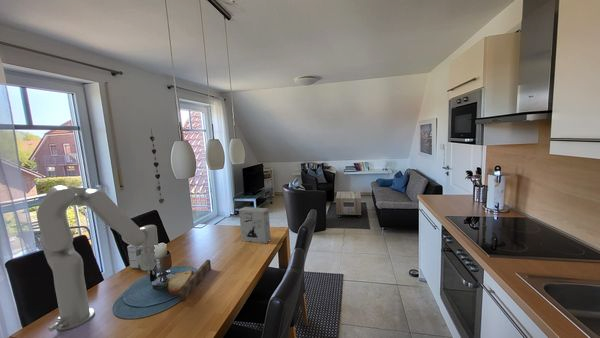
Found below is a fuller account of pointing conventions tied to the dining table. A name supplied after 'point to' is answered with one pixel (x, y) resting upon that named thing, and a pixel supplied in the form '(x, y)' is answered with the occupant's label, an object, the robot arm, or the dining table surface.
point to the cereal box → (255, 224)
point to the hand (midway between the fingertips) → (153, 280)
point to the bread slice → (178, 281)
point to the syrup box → (134, 256)
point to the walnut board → (194, 280)
